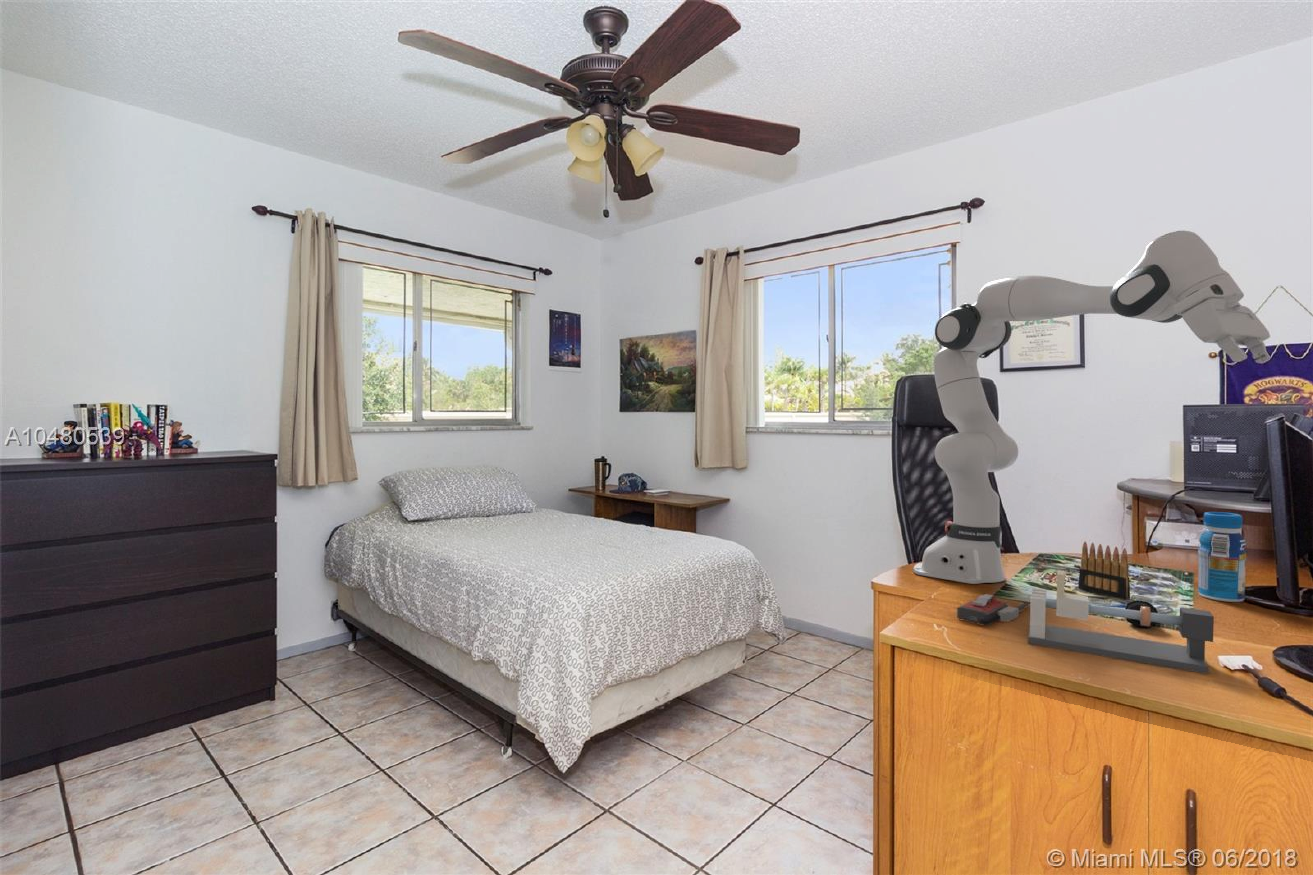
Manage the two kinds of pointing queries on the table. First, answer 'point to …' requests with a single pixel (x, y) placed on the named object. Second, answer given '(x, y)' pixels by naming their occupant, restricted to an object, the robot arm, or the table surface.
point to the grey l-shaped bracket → (1070, 601)
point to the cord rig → (1188, 657)
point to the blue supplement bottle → (1222, 558)
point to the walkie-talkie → (988, 610)
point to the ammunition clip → (1104, 572)
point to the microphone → (1136, 606)
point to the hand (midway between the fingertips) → (1253, 360)
